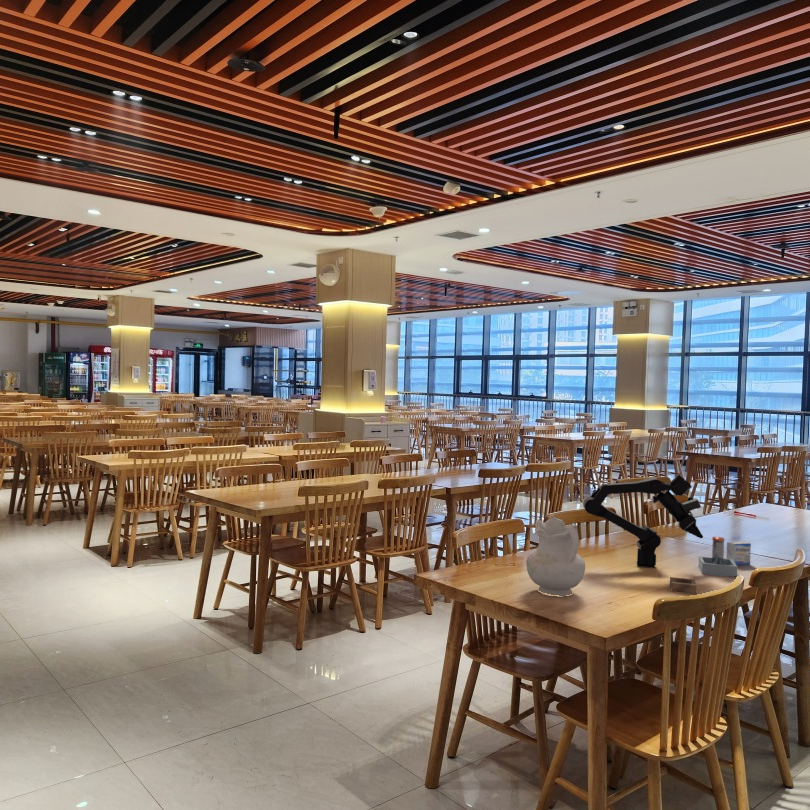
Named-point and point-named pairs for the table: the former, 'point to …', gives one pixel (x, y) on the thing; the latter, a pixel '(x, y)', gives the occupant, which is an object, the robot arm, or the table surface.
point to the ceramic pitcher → (556, 558)
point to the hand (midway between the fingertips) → (700, 535)
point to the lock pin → (717, 550)
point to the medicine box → (739, 552)
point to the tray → (717, 567)
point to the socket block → (683, 585)
